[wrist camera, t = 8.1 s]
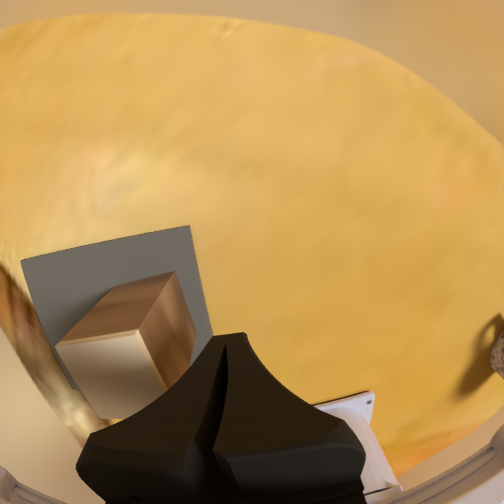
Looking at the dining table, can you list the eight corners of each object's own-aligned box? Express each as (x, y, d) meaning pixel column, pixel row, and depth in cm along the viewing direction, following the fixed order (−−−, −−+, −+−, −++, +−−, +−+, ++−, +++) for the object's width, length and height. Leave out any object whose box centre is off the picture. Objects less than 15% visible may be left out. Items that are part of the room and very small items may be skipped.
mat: (225, 383, 18) (225, 387, 17) (74, 386, 18) (72, 388, 17) (189, 225, 15) (188, 226, 15) (23, 259, 15) (20, 260, 15)
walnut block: (197, 331, 16) (178, 415, 10) (139, 342, 16) (100, 418, 10) (175, 270, 15) (134, 334, 9) (115, 285, 15) (54, 346, 9)
